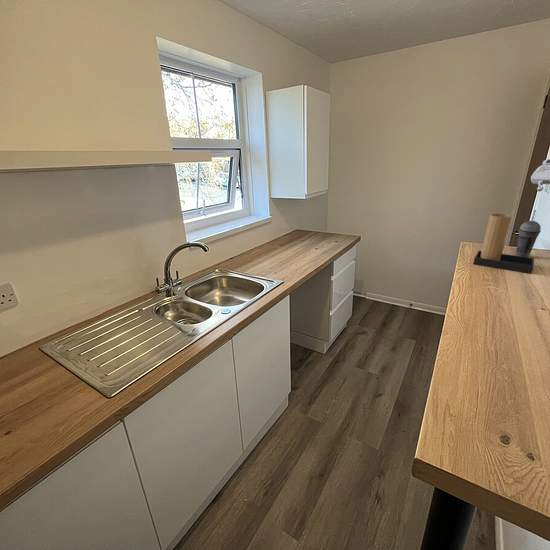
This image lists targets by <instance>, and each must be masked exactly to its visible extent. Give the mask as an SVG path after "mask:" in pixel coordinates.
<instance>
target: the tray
mask: <svg viewBox="0 0 550 550" xmlns="http://www.w3.org/2000/svg"><path fill="white" fill-rule="evenodd" d="M481 251H482V250H478V251H477V252H476V255H475V256H474V259H473V265H475V264H476V265H475V266H481V265H482V266H481V267H487V268H493V269H500V270H505V271H511V272H512V271H513V272H518V273H525V274H530V275H531V274H532V273H533V269H534V267H535V266H534V265H535V258H534V257H521V256H516V255H514V254H507V253H502V256H501V260H500V261H497V260H490V259H483V258H480V255H481Z"/></svg>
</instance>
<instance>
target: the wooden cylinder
mask: <svg viewBox="0 0 550 550" xmlns="http://www.w3.org/2000/svg"><path fill="white" fill-rule="evenodd" d="M512 218H513V215H511V214H506V213H490V214H489V218H488V222H487V226H486V231H485V234H484V239H483V243H482V248H481V250H480V251H481V255H480V258H483V259H490V260H497V261H500V260H501V256H502V254H503V252H504V249H505V246H506V245H505V244H506V241H507V237H508V234H509V230H510V226H511V222H512Z"/></svg>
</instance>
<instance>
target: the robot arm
mask: <svg viewBox="0 0 550 550" xmlns="http://www.w3.org/2000/svg"><path fill="white" fill-rule="evenodd" d="M530 182H531V183H532V185H538V186H537V188H536V192H543V190H544V185H550V158H548V159H544V160H543V161H542V165H540V166H538V167H537V168H536V169H535V170H534V171H533V173H532V175H530Z"/></svg>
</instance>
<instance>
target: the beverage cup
mask: <svg viewBox="0 0 550 550" xmlns="http://www.w3.org/2000/svg"><path fill="white" fill-rule="evenodd" d="M536 211H537V209H534V210H533V214H532V217H531V220H527V221H525V222H523V223H522V224H521V225H520V227H519V228H518V238H517V244H516V250H515V256H521V257H528V258H530V254H531V253H532V250H533V248H534V246H535V243H536V241H537V239H538V237H539V235H540V233H541V231H542V227H541V225H540V223H539V222H537V221H536V220H534V219H535V215H536Z"/></svg>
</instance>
